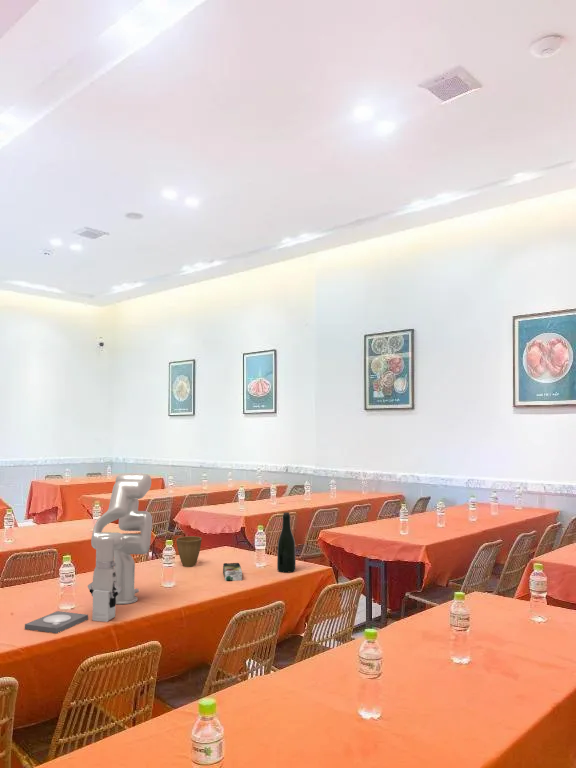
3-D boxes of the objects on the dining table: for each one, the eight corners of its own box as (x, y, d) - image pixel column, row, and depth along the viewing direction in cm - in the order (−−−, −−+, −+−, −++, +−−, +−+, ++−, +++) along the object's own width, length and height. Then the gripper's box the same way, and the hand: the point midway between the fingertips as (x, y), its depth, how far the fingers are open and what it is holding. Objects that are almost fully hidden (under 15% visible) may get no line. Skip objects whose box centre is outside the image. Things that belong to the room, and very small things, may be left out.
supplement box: (107, 621, 276) (108, 591, 277) (91, 620, 278) (92, 590, 279) (115, 616, 284) (116, 587, 284) (100, 615, 285) (100, 586, 286)
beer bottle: (274, 569, 375) (274, 512, 377) (290, 568, 379) (290, 511, 381) (281, 573, 366) (281, 514, 368) (298, 571, 370) (298, 513, 372)
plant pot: (176, 563, 392) (177, 536, 393) (201, 562, 394) (201, 536, 395) (175, 568, 378) (175, 540, 379) (201, 568, 379) (201, 540, 380)
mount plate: (57, 615, 285) (57, 608, 286) (87, 619, 280) (88, 612, 280) (24, 629, 267) (24, 621, 267) (56, 633, 261) (56, 625, 261)
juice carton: (243, 581, 349) (243, 569, 349) (224, 582, 347) (224, 570, 348) (239, 573, 369) (239, 562, 369) (222, 574, 367) (222, 563, 367)
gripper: (127, 564, 283) (126, 605, 282) (93, 561, 289) (92, 601, 288) (116, 568, 276) (116, 610, 275) (82, 565, 282) (81, 606, 280)
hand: (104, 605), depth 281 cm, fingers closed on supplement box, 8 cm apart
